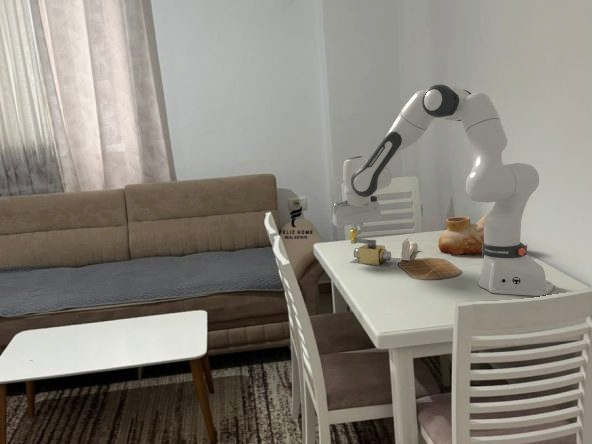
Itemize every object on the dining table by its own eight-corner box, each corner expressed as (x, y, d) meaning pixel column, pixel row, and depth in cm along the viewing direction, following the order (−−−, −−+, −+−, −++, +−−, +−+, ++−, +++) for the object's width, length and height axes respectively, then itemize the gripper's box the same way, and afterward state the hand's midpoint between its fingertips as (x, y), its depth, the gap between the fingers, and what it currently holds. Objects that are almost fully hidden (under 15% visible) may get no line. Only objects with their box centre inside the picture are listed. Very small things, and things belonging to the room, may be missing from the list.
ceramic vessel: (510, 255, 233) (511, 216, 230) (439, 256, 237) (439, 218, 234) (504, 246, 246) (504, 209, 243) (436, 247, 250) (436, 211, 247)
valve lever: (377, 245, 232) (377, 231, 231) (373, 247, 230) (372, 233, 229) (353, 242, 239) (353, 229, 238) (349, 244, 236) (348, 230, 235)
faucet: (418, 262, 247) (419, 238, 248) (409, 260, 231) (410, 234, 232) (408, 262, 249) (409, 238, 250) (399, 259, 232) (400, 233, 233)
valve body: (392, 261, 232) (392, 246, 231) (386, 266, 227) (385, 250, 226) (359, 258, 240) (358, 243, 238) (352, 262, 235) (351, 247, 233)
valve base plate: (401, 259, 236) (401, 258, 236) (388, 267, 226) (388, 266, 226) (363, 255, 245) (363, 254, 245) (349, 263, 235) (349, 262, 235)
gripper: (336, 203, 228) (338, 240, 230) (382, 196, 236) (384, 231, 239) (328, 201, 233) (330, 237, 236) (373, 194, 242) (374, 228, 245)
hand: (357, 234), depth 238 cm, fingers closed
